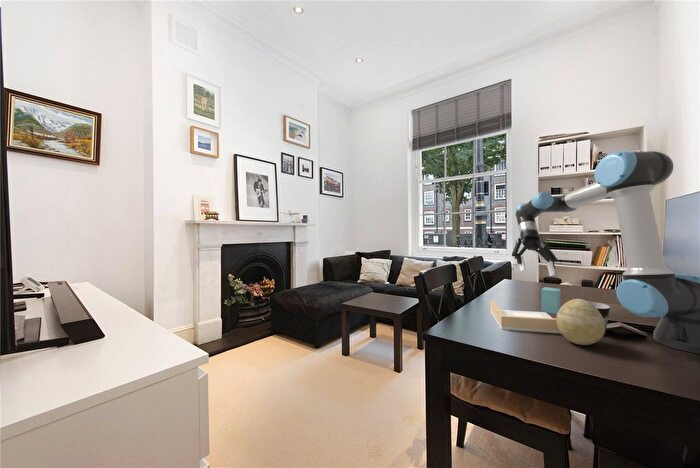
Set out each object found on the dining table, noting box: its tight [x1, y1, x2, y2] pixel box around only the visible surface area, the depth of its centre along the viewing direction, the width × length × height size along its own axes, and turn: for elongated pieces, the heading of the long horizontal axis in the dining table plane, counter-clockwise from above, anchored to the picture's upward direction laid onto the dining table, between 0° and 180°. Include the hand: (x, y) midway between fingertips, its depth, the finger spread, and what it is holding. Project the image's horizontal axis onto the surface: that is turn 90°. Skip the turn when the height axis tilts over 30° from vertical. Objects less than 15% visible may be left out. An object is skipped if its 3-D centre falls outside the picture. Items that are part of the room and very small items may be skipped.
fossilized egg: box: [555, 298, 605, 346], centre depth 95 cm, size 13×13×15 cm
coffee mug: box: [588, 301, 611, 336], centre depth 104 cm, size 12×9×10 cm
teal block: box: [540, 286, 561, 315], centre depth 129 cm, size 6×6×10 cm
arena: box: [489, 300, 561, 334], centre depth 117 cm, size 22×22×5 cm
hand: (538, 273), depth 127 cm, fingers open, 13 cm apart
